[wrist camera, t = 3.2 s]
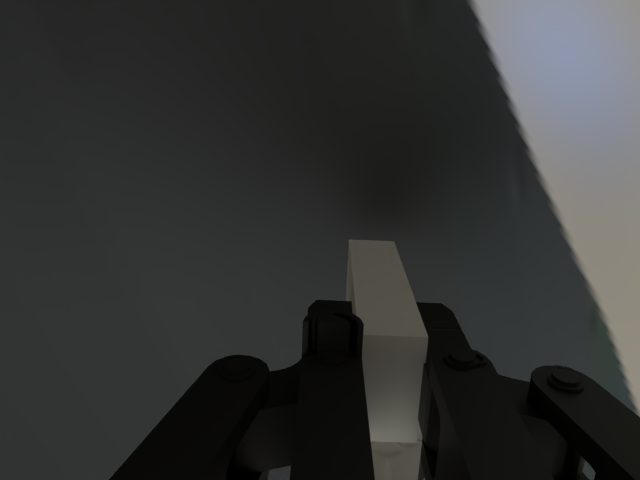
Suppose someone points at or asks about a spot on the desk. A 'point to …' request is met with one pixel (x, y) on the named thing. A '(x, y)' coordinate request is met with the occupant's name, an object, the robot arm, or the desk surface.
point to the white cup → (396, 459)
